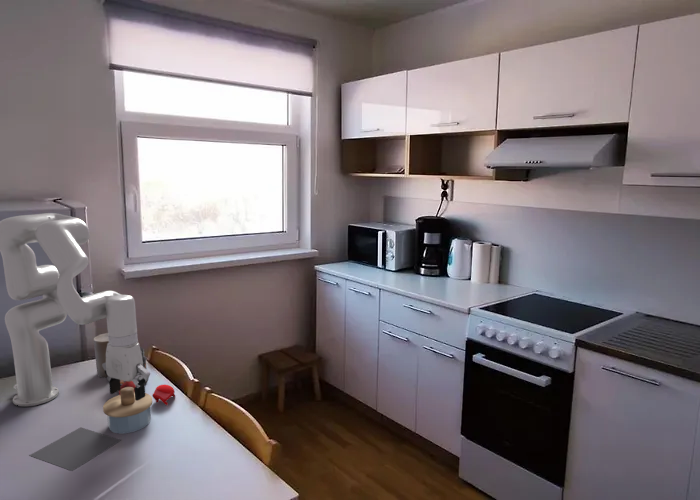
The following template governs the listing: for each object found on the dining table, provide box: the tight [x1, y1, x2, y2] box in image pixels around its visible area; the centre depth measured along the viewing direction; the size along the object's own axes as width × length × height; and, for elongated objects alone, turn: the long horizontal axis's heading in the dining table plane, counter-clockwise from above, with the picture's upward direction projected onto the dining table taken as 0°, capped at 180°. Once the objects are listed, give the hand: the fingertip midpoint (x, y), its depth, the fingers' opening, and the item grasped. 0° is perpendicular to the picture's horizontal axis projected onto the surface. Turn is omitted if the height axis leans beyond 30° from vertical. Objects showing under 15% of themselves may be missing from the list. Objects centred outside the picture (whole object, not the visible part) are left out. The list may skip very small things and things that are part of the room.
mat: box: [29, 427, 122, 472], centre depth 132 cm, size 16×15×1 cm
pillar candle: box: [93, 332, 109, 379], centre depth 178 cm, size 10×10×15 cm
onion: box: [118, 381, 136, 395], centre depth 157 cm, size 6×6×8 cm
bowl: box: [107, 406, 152, 434], centre depth 144 cm, size 11×11×6 cm
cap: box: [151, 384, 177, 406], centre depth 158 cm, size 8×6×6 cm
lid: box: [102, 387, 153, 417], centre depth 143 cm, size 13×13×5 cm
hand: (127, 395), depth 143 cm, fingers open, 9 cm apart
